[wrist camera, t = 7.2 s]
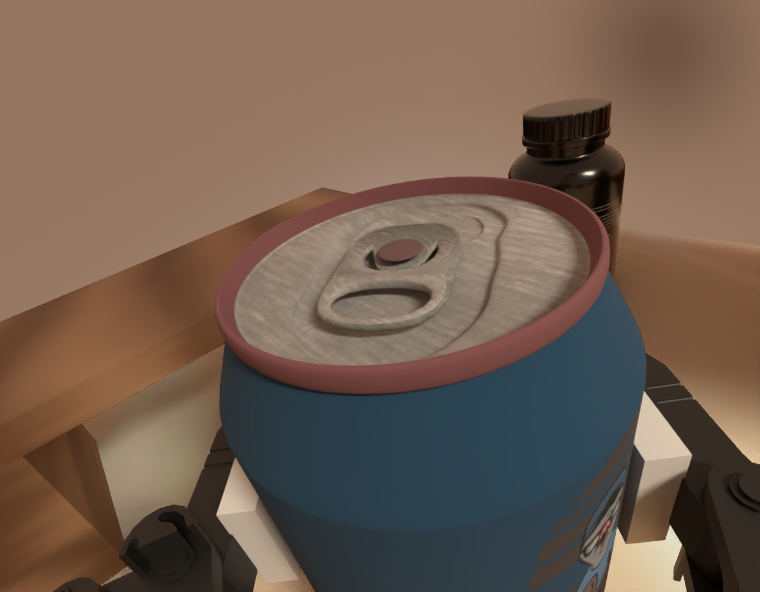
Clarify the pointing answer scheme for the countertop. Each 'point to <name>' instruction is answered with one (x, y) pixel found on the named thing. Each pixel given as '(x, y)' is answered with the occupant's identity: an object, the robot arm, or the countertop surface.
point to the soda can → (435, 387)
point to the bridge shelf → (98, 395)
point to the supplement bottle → (575, 158)
